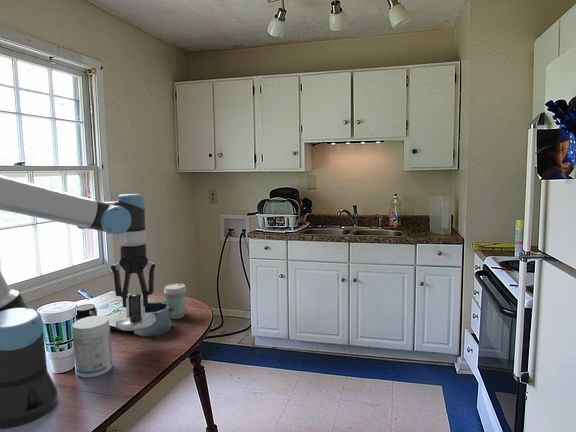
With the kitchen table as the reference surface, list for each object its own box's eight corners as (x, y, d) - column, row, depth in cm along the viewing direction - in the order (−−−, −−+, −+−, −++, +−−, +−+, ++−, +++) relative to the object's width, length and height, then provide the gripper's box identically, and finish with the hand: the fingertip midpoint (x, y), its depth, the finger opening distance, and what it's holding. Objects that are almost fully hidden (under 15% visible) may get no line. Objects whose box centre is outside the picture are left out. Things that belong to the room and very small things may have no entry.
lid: (152, 329, 123) (151, 300, 122) (111, 331, 121) (110, 302, 120) (158, 315, 135) (157, 288, 134) (120, 317, 133) (119, 290, 132)
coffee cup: (181, 321, 150) (179, 290, 149) (160, 319, 152) (158, 289, 151) (191, 313, 159) (190, 283, 157) (172, 311, 161) (170, 282, 159)
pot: (173, 334, 139) (171, 312, 138) (127, 338, 136) (125, 315, 135) (176, 321, 151) (175, 300, 150) (134, 324, 148) (133, 303, 147)
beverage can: (75, 340, 135) (72, 306, 133) (96, 335, 139) (93, 302, 137) (79, 347, 130) (76, 312, 128) (101, 342, 134) (98, 307, 132)
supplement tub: (91, 361, 121) (87, 314, 119) (119, 363, 119) (116, 315, 117) (68, 378, 111) (63, 327, 109) (99, 380, 110) (95, 329, 108)
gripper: (162, 241, 130) (164, 310, 133) (108, 242, 127) (111, 313, 130) (159, 245, 123) (161, 319, 125) (101, 246, 120) (104, 322, 123)
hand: (136, 316), depth 128 cm, fingers closed on lid, 4 cm apart
